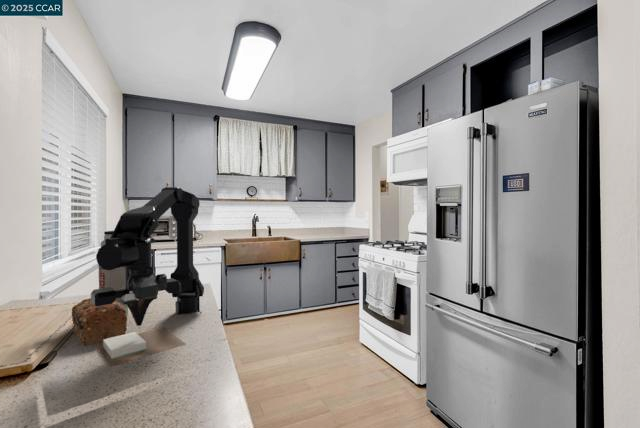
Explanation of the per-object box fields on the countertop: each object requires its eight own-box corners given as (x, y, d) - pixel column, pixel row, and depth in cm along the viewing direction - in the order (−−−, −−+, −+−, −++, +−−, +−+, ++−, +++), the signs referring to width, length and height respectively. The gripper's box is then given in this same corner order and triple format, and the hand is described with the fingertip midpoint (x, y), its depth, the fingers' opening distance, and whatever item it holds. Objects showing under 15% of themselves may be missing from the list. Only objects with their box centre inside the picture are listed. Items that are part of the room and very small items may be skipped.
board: (164, 331, 90) (163, 327, 90) (186, 348, 79) (186, 343, 79) (96, 348, 79) (96, 344, 79) (110, 371, 67) (110, 366, 67)
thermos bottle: (102, 322, 98) (101, 232, 98) (96, 316, 103) (95, 231, 103) (131, 315, 104) (130, 230, 104) (123, 310, 109) (123, 229, 109)
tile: (135, 331, 82) (103, 339, 77) (145, 341, 75) (111, 351, 70) (135, 339, 82) (103, 347, 77) (146, 349, 75) (111, 359, 70)
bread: (127, 340, 84) (127, 303, 84) (77, 352, 77) (77, 312, 77) (114, 322, 98) (113, 290, 98) (70, 331, 91) (70, 296, 91)
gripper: (99, 272, 66) (100, 346, 66) (189, 262, 79) (189, 324, 79) (90, 265, 74) (90, 332, 74) (172, 257, 87) (173, 313, 87)
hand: (138, 325), depth 78 cm, fingers closed
